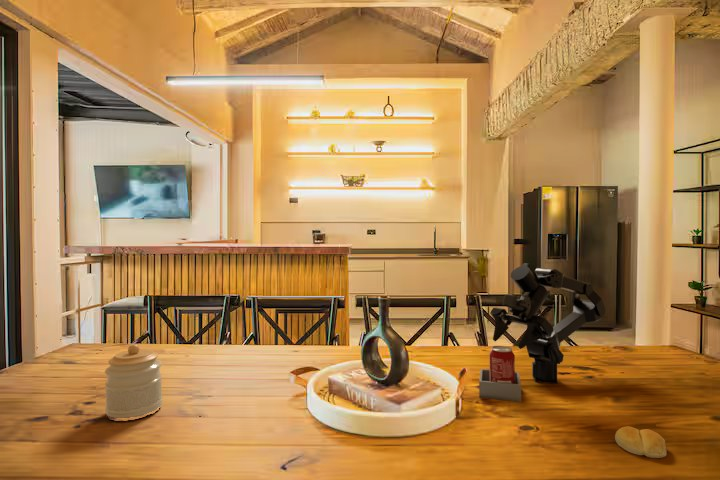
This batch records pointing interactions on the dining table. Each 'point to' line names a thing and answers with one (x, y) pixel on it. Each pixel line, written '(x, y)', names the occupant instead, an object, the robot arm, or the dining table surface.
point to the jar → (133, 383)
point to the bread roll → (641, 442)
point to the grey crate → (499, 388)
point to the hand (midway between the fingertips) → (506, 344)
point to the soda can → (502, 365)
